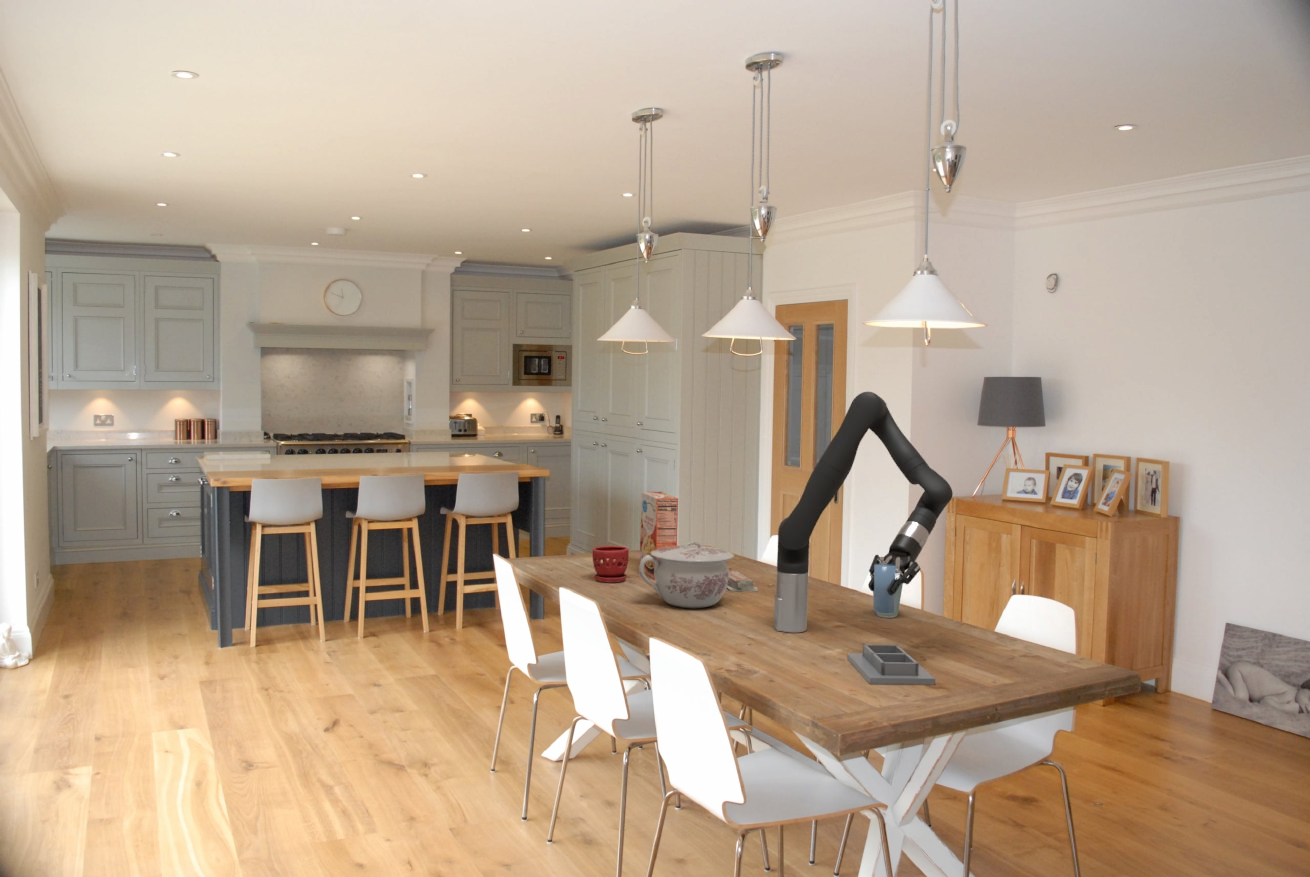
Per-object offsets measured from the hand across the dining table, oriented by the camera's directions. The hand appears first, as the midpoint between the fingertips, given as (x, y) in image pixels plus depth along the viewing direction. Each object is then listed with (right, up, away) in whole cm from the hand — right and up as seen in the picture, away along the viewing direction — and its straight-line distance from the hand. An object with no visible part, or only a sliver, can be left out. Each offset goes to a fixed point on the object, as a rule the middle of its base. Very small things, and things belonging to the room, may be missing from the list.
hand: (880, 591), depth 254 cm
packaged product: (-30, -14, +92) cm, 98 cm away
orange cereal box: (-58, -11, +112) cm, 127 cm away
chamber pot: (-48, -14, +62) cm, 80 cm away
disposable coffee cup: (+14, -16, +52) cm, 57 cm away
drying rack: (0, -19, -9) cm, 21 cm away
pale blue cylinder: (+1, -5, +1) cm, 6 cm away
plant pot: (-76, -12, +98) cm, 124 cm away
